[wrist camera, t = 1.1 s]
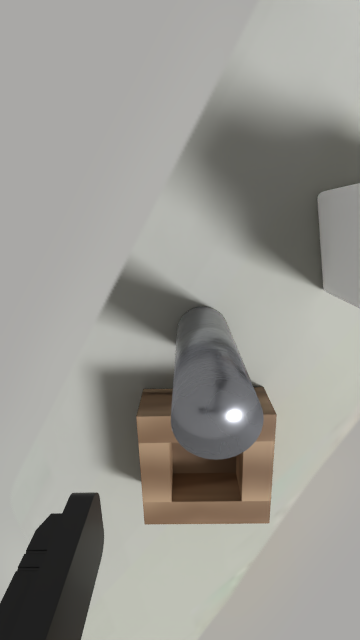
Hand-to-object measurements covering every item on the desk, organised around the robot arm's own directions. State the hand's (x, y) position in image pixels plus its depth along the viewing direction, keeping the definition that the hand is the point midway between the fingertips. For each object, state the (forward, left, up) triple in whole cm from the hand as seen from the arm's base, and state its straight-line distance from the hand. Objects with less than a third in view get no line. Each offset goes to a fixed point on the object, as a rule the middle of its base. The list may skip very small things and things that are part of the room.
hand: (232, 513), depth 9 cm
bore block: (+10, 0, -17) cm, 19 cm away
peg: (0, 0, -17) cm, 17 cm away
